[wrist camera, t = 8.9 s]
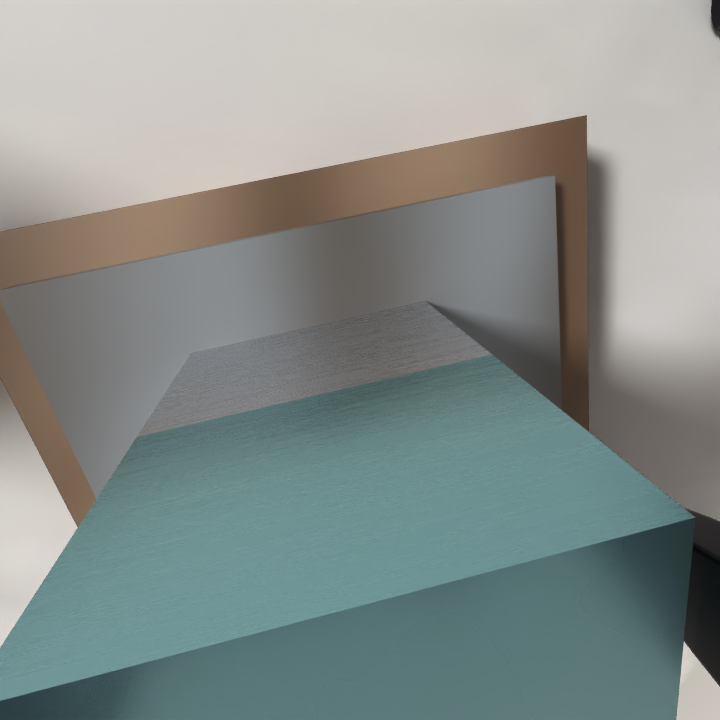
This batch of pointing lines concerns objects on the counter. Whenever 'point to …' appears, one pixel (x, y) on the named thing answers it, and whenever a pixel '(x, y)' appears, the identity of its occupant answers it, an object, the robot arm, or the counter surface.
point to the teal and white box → (360, 549)
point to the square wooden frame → (294, 281)
